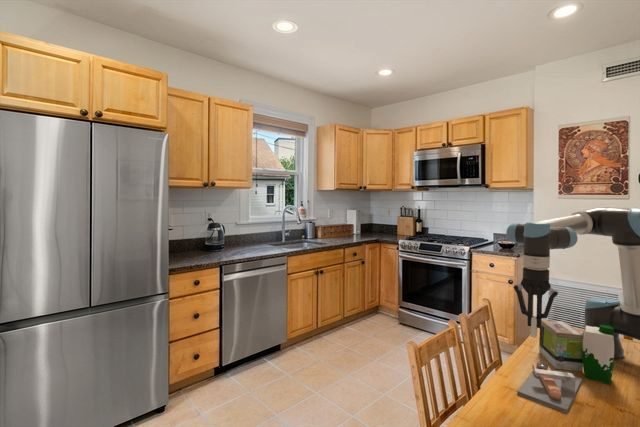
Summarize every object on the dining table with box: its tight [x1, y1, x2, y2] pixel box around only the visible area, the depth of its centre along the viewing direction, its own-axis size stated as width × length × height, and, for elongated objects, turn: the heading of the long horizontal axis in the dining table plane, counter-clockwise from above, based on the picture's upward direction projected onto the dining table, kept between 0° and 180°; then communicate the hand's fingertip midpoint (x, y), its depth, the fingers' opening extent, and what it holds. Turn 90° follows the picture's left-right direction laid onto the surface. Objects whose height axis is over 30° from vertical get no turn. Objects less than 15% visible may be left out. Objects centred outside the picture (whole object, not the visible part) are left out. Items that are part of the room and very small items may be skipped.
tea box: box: [538, 319, 584, 372], centre depth 137 cm, size 15×10×15 cm, turn 168°
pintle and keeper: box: [534, 362, 575, 392], centre depth 118 cm, size 13×14×5 cm
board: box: [516, 368, 583, 414], centre depth 118 cm, size 26×14×1 cm, turn 134°
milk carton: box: [582, 325, 615, 386], centre depth 124 cm, size 9×9×20 cm
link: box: [531, 363, 561, 400], centre depth 118 cm, size 20×5×2 cm, turn 160°
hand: (533, 336), depth 113 cm, fingers closed
